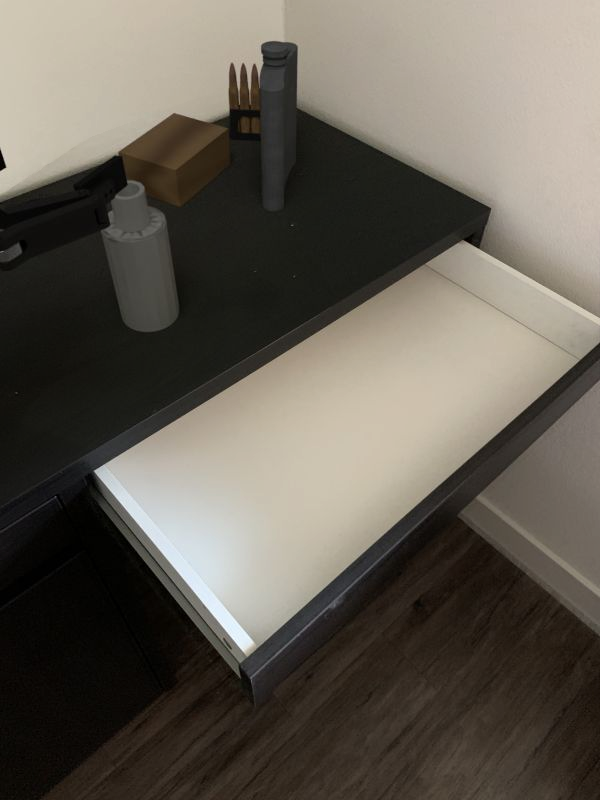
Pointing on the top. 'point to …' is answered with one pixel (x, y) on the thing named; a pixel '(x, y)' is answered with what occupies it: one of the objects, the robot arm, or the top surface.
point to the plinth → (177, 158)
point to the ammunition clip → (244, 105)
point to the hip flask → (277, 119)
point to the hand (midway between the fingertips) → (58, 161)
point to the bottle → (141, 261)
